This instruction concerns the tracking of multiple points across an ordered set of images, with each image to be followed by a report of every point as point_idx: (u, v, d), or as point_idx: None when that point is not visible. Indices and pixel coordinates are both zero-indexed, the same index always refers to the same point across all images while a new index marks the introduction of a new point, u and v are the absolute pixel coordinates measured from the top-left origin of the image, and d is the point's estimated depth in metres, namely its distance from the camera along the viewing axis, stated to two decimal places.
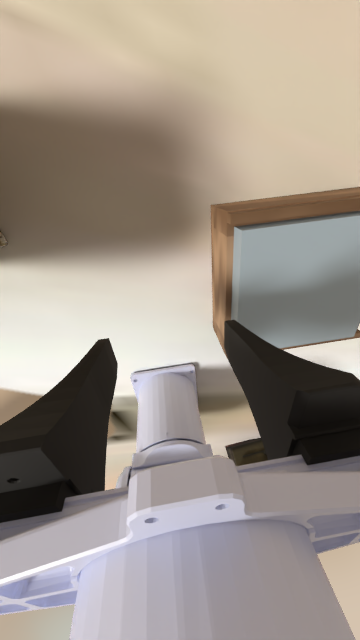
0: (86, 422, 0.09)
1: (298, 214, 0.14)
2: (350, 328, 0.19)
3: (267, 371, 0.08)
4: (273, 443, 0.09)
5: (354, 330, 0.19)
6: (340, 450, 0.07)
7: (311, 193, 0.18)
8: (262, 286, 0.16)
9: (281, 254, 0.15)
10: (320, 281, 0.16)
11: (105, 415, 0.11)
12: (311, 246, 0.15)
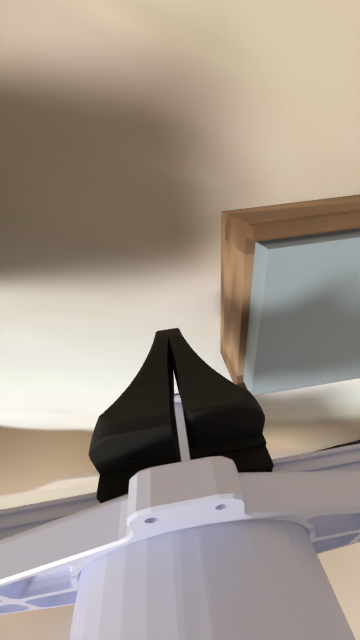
0: (172, 408, 0.09)
1: (343, 226, 0.11)
2: None
3: (179, 385, 0.08)
4: None
5: None
6: None
7: (347, 197, 0.15)
8: (290, 318, 0.12)
9: (318, 279, 0.11)
10: None
11: (174, 404, 0.11)
12: (357, 268, 0.11)
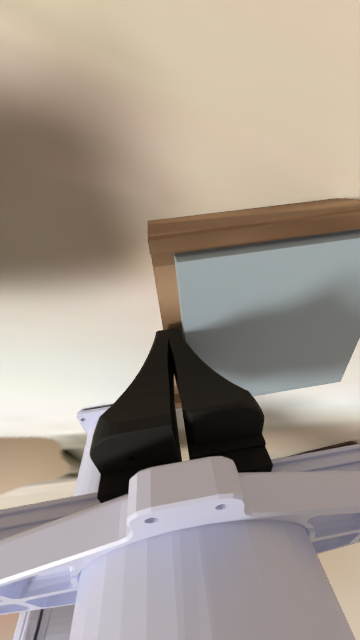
0: None
1: (244, 240, 0.10)
2: (335, 373, 0.15)
3: (178, 385, 0.08)
4: None
5: (340, 374, 0.16)
6: None
7: (275, 206, 0.14)
8: (216, 329, 0.12)
9: (236, 291, 0.11)
10: (292, 321, 0.13)
11: (174, 403, 0.11)
12: (276, 280, 0.11)
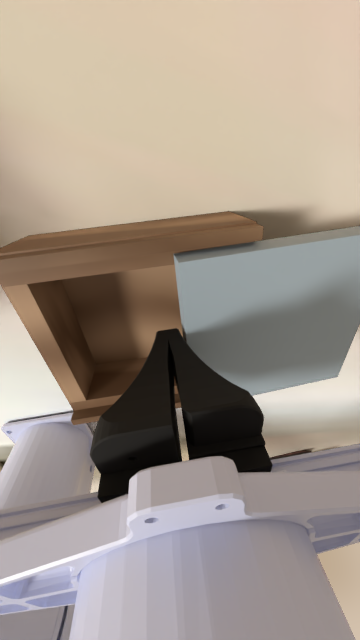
0: (173, 407, 0.09)
1: (82, 261, 0.10)
2: (333, 368, 0.16)
3: (178, 385, 0.08)
4: None
5: (337, 370, 0.16)
6: None
7: (160, 220, 0.14)
8: (217, 330, 0.12)
9: (238, 290, 0.11)
10: (292, 319, 0.13)
11: (174, 403, 0.11)
12: (277, 278, 0.11)
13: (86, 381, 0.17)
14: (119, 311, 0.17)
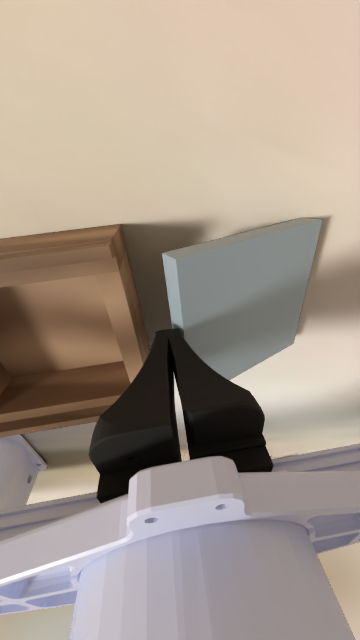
0: (172, 408, 0.09)
1: None
2: (290, 337, 0.19)
3: (178, 385, 0.08)
4: None
5: (293, 338, 0.19)
6: None
7: (45, 234, 0.14)
8: (208, 319, 0.13)
9: (223, 280, 0.12)
10: (262, 300, 0.15)
11: (173, 404, 0.11)
12: (251, 266, 0.13)
13: None
14: (23, 325, 0.16)
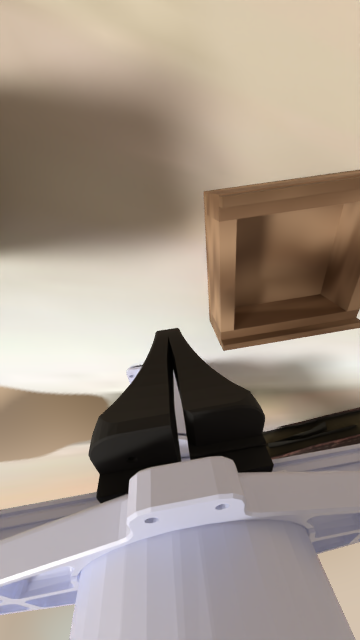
0: (172, 407, 0.09)
1: (293, 196, 0.14)
2: None
3: (179, 385, 0.08)
4: None
5: None
6: None
7: (308, 177, 0.17)
8: None
9: None
10: None
11: (173, 404, 0.11)
12: None
13: None
14: (256, 258, 0.20)
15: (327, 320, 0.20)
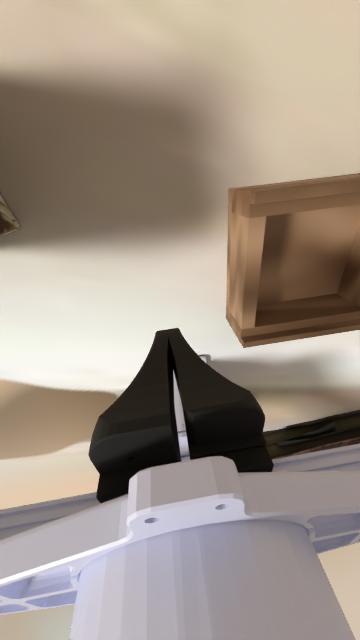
0: (172, 407, 0.09)
1: (324, 194, 0.14)
2: None
3: (179, 385, 0.08)
4: None
5: None
6: None
7: (332, 177, 0.18)
8: None
9: None
10: None
11: (174, 404, 0.11)
12: None
13: None
14: (276, 257, 0.20)
15: (345, 319, 0.21)
